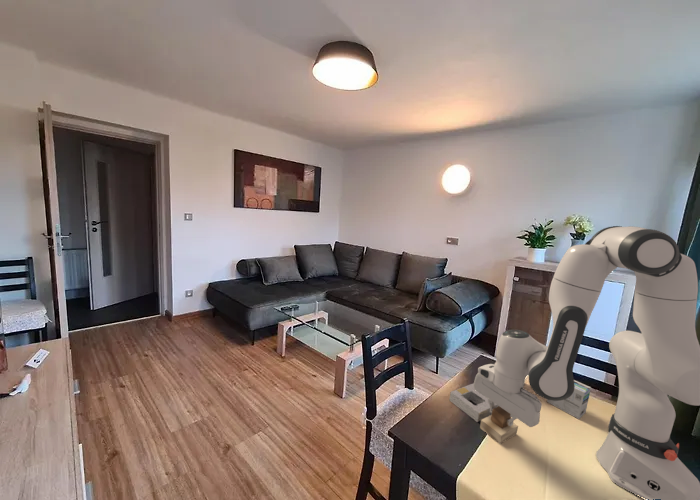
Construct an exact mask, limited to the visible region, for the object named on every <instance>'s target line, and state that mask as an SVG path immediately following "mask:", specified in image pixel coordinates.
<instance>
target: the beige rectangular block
mask: <svg viewBox="0 0 700 500" xmlns="http://www.w3.org/2000/svg"><path fill="white" fill-rule="evenodd" d="M491 416H492V415H490V416H488V417H486V418H484V419H482V420H481V421H480V425H479V429H480V430H482V431H483V432H484V433H485V432H486V433H485V434H487V435H488V436H489V437H490V436H491V437H490V438H492V439H493V440H494V441H495V442H497V443H498V444H499V445H500V444H502V443H504V442H506V441H507V440H509V439H511V438H512V437H514V436H516V435H517V432H518V428H519V426H518V425H517V424H515V423H514V422H513V425H512V426H509V425H508V426H506V427H504V428H501V427H499V426H498V425H497V424H495V423H494V422H493V421H491Z"/></svg>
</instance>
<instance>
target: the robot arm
mask: <svg viewBox="0 0 700 500" xmlns="http://www.w3.org/2000/svg"><path fill="white" fill-rule="evenodd" d="M618 268H620V269H627V270H631V272H634V275H635V284H634V286H635V287H634V295H633V296H634V298H633V307H632V317H633V318H632V319H633V321H634V323H635V324H636V326H637V327H638V329H639V330H640V332H637V331H635V330H634V331H633V330H621V331H619V332H616V333H615V334H614V335H613V336H612V337H611V338H610V341H609V343H608V345H609V347H608V348H609V350H610V352H611V354H612V356H613V358H614V361H615V365H616V369H617V376H618V377H617V378H618V396H617V402H616V405H615V409H614V410H615V411H614V413H612V415H611V417H610V419H609V423H608V427H607V428H608V429H607V432H608V433H607V435H606V438H605V439H604V441H603V443H602V444H601V446H600V447H599V448H598V450H597V451H596V453H595V456H596V459H597V460H598V463H599V465H600V466H601V467H602V468H603V469H604V470H605V471H606V472H607V474H608V476H609V478H610V480H611V481H612V482H613V483H614V484H615V483H616V484H615V485H617V486H618V487H621V488H622V487H623V488H622V489H624V488H625V489H627V490H628V491H627V490H626V491H627V492H629V491H630V492H629V493H631V492H632V493H634V494H636V495H639V496H640V497H643V498H645V499H649V500H653V499H654V500H655V499H661V500H700V481H699V479H698V477H696V476H695V475H694V474H693V472H692V471H691V470H690V469H689V468H688V467H687V466H686V465H685V464H684V462H682V460H680V459H679V457H678V455H679V450H680V443H679V442H678V443H677V444H675V443H674V441H673V440H672V439H671V434H672V430H673V426H674V423H675V420H676V411H675V407H674V406H673V403H672V402H671V401H670V399H669V397H671V398H674V399H675V400H678V401H680V402H683V403H684V404H687V405H690V406H700V342H699V340H698V337H697V331H696V315H697V305H698V303H697V302H698V293H699V291H698V290H699V289H698V288H699V284H698V283H699V282H698V273H697V267H696V263H695V261H694V260H693V258H691V257H690V256H688V255H686V254H683V253H681V252H680V249H679V246H678V244H677V242H676V240H675V239H673V237H671V236H670V235H669V234H667V233H666V232H665V233H664V232H662V231H660V230H658V229H652V228H645V227H640V226H634V225H633V226H631V225H630V226H620V225H619V226H618V225H616V226H612V225H611V226H607V227H604V228H601V229H600V230H599V231H597V232H596V233H594V234H593V236H592V237H591V238H590V239H589V240H587V241H586V242H585V243H583V244H574V245H572V246H570V247H569V248H568V249H567V250H566V252H565V253H564V254H563V256H562V258H561V259H560V261H559V263H558V265H557V267H556V269H555V271H554V274H553V277H552V280H551V283H550V287H549V293H548V303H549V306H550V311H551V316H552V331H551V334H550V338H549V341H548V344H547V345H545V344H543V343H541V342H539V341H538V340H536V339H535V338H533V337H532V336H531V335H530V333H528V332H526V331H524V330H520V329H508V330H505V331H503V332H502V333H501V335H500V336H499V340H498V342H497V347H496V353H495V356H496V361H495V362H494V363H488V364H484V365H482V366H479V367H478V368H477V374H476V375H475V377H474V380H473V381H474V382H473V383H474V388H475V390H476V391H478V392H479V393H480V394H482V395H483V396H485V397H486V398H488V403H489V406H490V413H492V410H493V409H494V408H495V404H497V405H498V406H500V407H501V408H502V409H504V410H505V411H507V412H508V413H510V417H511V418H510V417H509V418H507V419H506V422H505V423H506V424H507V425H509V426H512V425H513V423H514V421H515V420H519V422H521V423H523V424H525V425H526V426H528V427H529V428H533V427H536V426H537V425H538V424H539V423H540V420H541V419H540V417H541V410H542V407H543V404H542V402H541V400H540V399H539V398H538V396H539V397H540V398H543V399H545V400H547V399H548V400H553V401H560V400H565V399H567V398H569V397H570V396H571V395H572V394H573V392H574V388H575V385H574V380H575V379H574V374H573V373H574V366H575V363H576V359H577V357H578V353H579V350H580V347H581V345H582V341H583V337H584V334H585V330H586V327H587V325H588V323H589V322H590V321H589V320H590V317H591V315H592V313H593V312H594V308H595V307H596V305H597V303H598V300H599V297H600V295H601V293H602V289H603V287H604V284H605V281H606V279H607V277H608V276H609V275H610V274H611V273H612V272H613V271H614V270H616V269H618ZM526 376H528V383H529V386H530V388H531V390H532V391H533V392H534V393H535V394H533V393H532V392H530V391H528V390H527V389H525V388H524V387H525V382H526V381H525V380H526ZM494 403H495V404H494ZM625 489H624V490H625ZM632 493H631V494H632ZM634 494H633V495H634ZM636 495H635V496H636Z"/></svg>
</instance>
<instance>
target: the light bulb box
mask: <svg viewBox="0 0 700 500" xmlns="http://www.w3.org/2000/svg"><path fill="white" fill-rule="evenodd" d="M574 385H575V388H574V392H573V394H572V395H571V396H570V397H569V398H567V399H565V400H560V401H553V400H548V399H546V403H548V404H550V405H552V406H554V407H555V408H557V409H559V410H561V411H563V412H565V413H567V414H568V415H570V416H572V417H574V418H576V419H578V420H579V419H581V418H582V417H583V416H584V415H585V414H587V413H586V411H587V408H588V404H589V399H590V394H591V389H592V387H591V386H589V385H587V384H584V383H582V382H580V381H578V380H575V379H574Z"/></svg>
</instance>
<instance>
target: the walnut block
mask: <svg viewBox="0 0 700 500" xmlns="http://www.w3.org/2000/svg"><path fill="white" fill-rule="evenodd" d="M509 417H510V413H508V412H507V411H505V410H504V409H502V408H501V407H500V406H498V407H496V408H494V409H493V410H492V416H491V421H493V422H494V423H495V424H497V425H498V426H499V427H501V428H504V427H506V426H508V425H507V424H506V423H505V422H506V419H507V418H509ZM510 418H512V417H510Z"/></svg>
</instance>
